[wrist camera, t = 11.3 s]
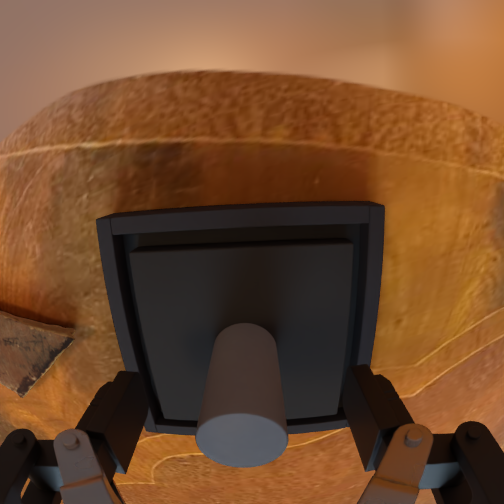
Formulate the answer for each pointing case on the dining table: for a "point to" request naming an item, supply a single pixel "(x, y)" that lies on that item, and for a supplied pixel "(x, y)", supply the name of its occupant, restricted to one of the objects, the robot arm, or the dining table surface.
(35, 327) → the shard
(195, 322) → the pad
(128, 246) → the base pad
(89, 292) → the dining table surface
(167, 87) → the dining table surface
